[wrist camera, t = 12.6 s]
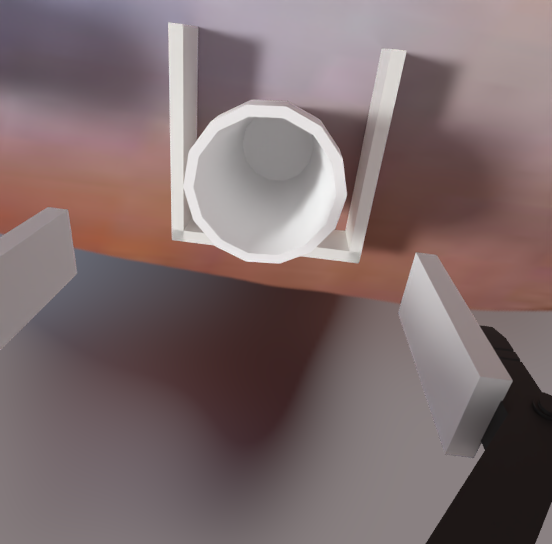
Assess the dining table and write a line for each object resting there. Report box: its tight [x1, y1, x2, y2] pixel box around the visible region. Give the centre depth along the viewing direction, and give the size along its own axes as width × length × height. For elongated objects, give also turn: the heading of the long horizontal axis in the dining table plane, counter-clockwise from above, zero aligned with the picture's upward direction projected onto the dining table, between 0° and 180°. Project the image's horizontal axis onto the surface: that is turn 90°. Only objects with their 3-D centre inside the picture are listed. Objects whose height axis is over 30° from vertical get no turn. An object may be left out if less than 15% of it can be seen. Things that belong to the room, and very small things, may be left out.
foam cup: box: [183, 100, 347, 263], centre depth 30 cm, size 10×9×13 cm
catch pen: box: [168, 23, 407, 263], centre depth 34 cm, size 16×16×4 cm
